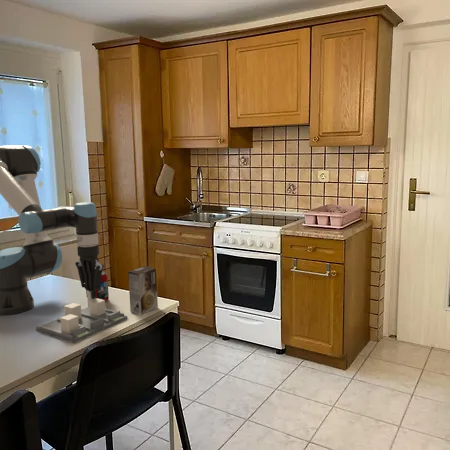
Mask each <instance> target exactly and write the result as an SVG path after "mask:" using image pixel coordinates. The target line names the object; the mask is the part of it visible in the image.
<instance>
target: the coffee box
mask: <svg viewBox="0 0 450 450" xmlns="http://www.w3.org/2000/svg"><path fill="white" fill-rule="evenodd" d="M127 272H128V277H127V278H128V289H129V290H128V291H129V310H130V312H131V313H133V312H134V314H136V315H140V314H141V315H142V316H143V315H145V314H147V313H149V312H151V311H153V310H156V309H158V308H159V305H158V303H159V302H158V286H157V285H158V284H157V283H158V282H157V268H156V267H155V268H154V267H151V266H145V265H144V266H141V267H138V268H135V269H132V270H129V271H127ZM144 313H145V314H144Z"/></svg>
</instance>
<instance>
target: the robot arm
mask: <svg viewBox="0 0 450 450" xmlns="http://www.w3.org/2000/svg"><path fill="white" fill-rule="evenodd" d="M40 171H41V158H40V156H39V153H38V152H37V151H36V149H34V148H33V147H32V146H30V145H22V144H18V145H16V144H15V145H0V195H1V197H2V198H3V199H4V200H5V202H7V203H8V205H9V206H10V207H11V209H13V211H14V212H15V213H16V214H17V215H18V220H17V221H18V227H19V229H20V230H21V232H23V235H24V239H25V242H24V243H23V245H22V246H14V247H7V248H4V249H1V250H0V315H1V316H3V315H4V316H5V315H6V316H7V315H15V314H21V313H23V312H26V311H29V310H31V309H32V308H34V306H35V302H34V301H35V300H34V297H33V295H32V293H31V291H30V289H29V286H28V279H31V278H36V277H40V276H43V275H48V274H49V275H50V274H51V273H54V272H56V271H58V270H59V269H60V267H61V265H62V263H63V251H62V249H61V247H60V246H59V245H58V244H57V243H54V241H53V238H51V237H50V236H49V235H48V232H47V231H52V230H58V229H59V230H60V229H65V228H66V229H67V228H73V229H74V228H75V233H76V244H77V245H78V246H77V247H76V248H77V256H78V257H79V260H78V261H75V262H74V264H75V267H76V269H77V272H78V276H79V281H80V286H81V287H82V288H84V289H85V290H86V298H87V307H89V301H92V300H94V299H96V297H97V295H96V290H97V289H99V288H100V286H101V277H102V271H103V270H104V268H105V264H101V263H100V262H99V259H98V257H99V254H100V248H99V233H98V212H97V206H96V204H95V203H94V202H90V201H88V202H87V201H84V202H83V201H82V202H77V203H75V204H74V205H73V206H68V205H61V206H58V207H55V208H48V209H43V208H42V206H41V202H40V198H39V194H38V190H37V186H36V180H37V177H38V173H39V172H40Z"/></svg>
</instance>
